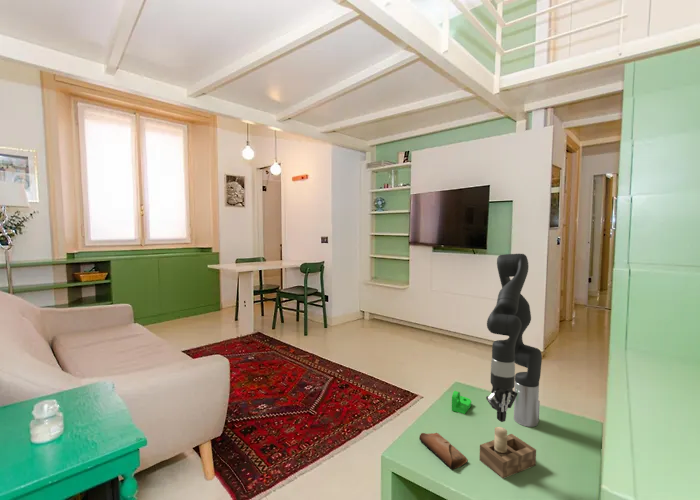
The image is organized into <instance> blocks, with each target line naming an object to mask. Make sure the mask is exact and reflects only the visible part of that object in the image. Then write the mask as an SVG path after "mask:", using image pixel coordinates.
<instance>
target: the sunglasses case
mask: <svg viewBox="0 0 700 500" xmlns="http://www.w3.org/2000/svg"><path fill="white" fill-rule="evenodd" d="M418 438H419V441H420V442H421V443H422V444H424V445H425V446H426V447H427V449H428V448H429V450H430V451H432V452H433V453H434V455H435V456H437V457H438V458H439V459H440V460H441V461H442V462H443V463H444V464H445V465H446V466H447V467H448V468H450V469H451V470H455V469H457V468H461V467H462V466H464V465H465V464H466V463H467V462H468V461H469V459H468V458H467V457H466V456H465V455H464V454H463V453H462V452H461V451H460V450H458V449H457V448H456V447H455V446H454V445H453V444H452V443H450V441H448V440H447V439H446V438H444V437H443V436H442V435H441V434H439V432H435V433H434V432H433V433H432V432H431V433H426V432H421V433H420V434H419V437H418Z"/></svg>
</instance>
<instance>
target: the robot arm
mask: <svg viewBox="0 0 700 500" xmlns="http://www.w3.org/2000/svg"><path fill="white" fill-rule="evenodd" d="M496 266H497V271H498V276H499V279H500V280H499V281H500V284H501V289H500V290H499V293H498V295H497V300H496V304H495V306H494V308H493V310H492V311H491V312H490V314H489V316H488V317H487V320H486V328H487V329H488V331H489V332H490V333H491V334H493V335H501V336H506V337H508V338H506V339H500V340H499V339H498V340H495V341H493V342H492V345H491V348H492V349H491V362H490V384H491V386H492V388H491V394H490V395H486V397H485V399H486V401H487V402H488V403H489V405H490V407H491V408H492V409H494V410H495V411H496V419H497V420H498V421H499V422H500V423H503V422H506V419H507V411H508V409H511V408H512V406H513V420H514V421H515V422H516V423H517V424H519V425H521V426H523V427H528V428H533V427H536V426H538V424H539V422H540V404H541V403H540V400H539V395H540V394H539V392H540V380H541V371H542V362H543V361H542V360H543V354H542V351H541V350H540V349H539V348H537V347H535V346H531V345H527V344H525V343H524V341H523V334H524V332H525V331H526V329H527V328H528V327H529V325H530V323H531V322H532V314H531V313H532V312H531V307H530V304H529V301H528V300H527V298H526V297H525V296H523V294H521V292H522V289H523V287H524V285H525V282H526V279H527V276H528V272H529V260H528V256H527V255H526V254H524V253H510V254H509V253H508V254H507V253H506V254H500V255H498V257H497V259H496ZM516 365H518V366H521V367H523V368H526V369H527V371H519V372H516Z"/></svg>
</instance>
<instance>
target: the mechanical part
mask: <svg viewBox="0 0 700 500" xmlns="http://www.w3.org/2000/svg"><path fill="white" fill-rule="evenodd" d="M471 407H472V399H471V398H469V397H466V396H463V395H461V392H460V391H457V390H454V391H453V392H452V395H451V411H453V412H455V413H459V414H464V415H465V414H466V413H467V412H468V411H469V410H470V408H471Z"/></svg>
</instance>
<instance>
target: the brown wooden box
mask: <svg viewBox="0 0 700 500" xmlns="http://www.w3.org/2000/svg"><path fill="white" fill-rule="evenodd" d="M479 461H480V462H481V463H482V464H484V465H485V466H486V467H487V468H489V469H490V470H491V471H492V472H494V473H495V474H496V475H497V476H499V477H500V478H501V479H502V480H503V479H506V478H508V477H510V476H513V475H516V474H518V473H520V472H523V471H526V470H527V469H530V468H532V467H535V466H536V463H537V449H536V448H535V447H533V446H531V445H530V444H528V443H527V442H525V441H523V440H522V439H520V438H519V437H518V436H516V435H514V434H513V433H510V434H507V455H505V456H502V457H501V456H499V455H498V454H497V453H495V452H494V439H492V440H490V441H487V442H485V443H481V444H479Z"/></svg>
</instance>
